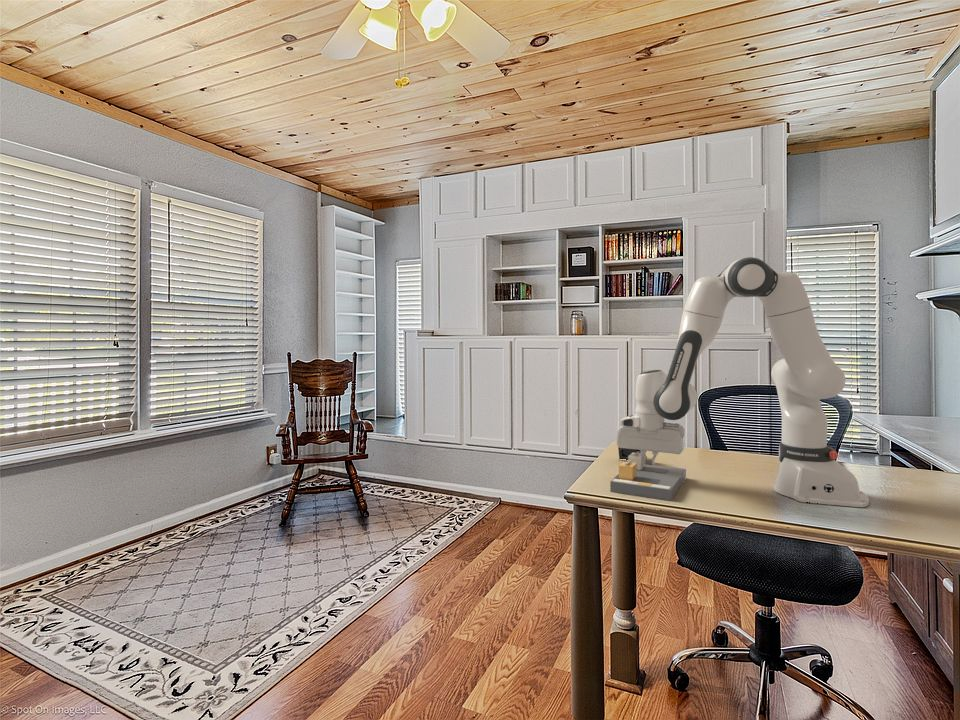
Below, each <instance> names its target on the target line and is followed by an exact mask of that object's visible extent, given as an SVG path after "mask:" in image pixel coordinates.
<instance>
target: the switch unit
mask: <svg viewBox="0 0 960 720" xmlns="http://www.w3.org/2000/svg"><path fill="white" fill-rule="evenodd" d="M685 478H687V469H686V468H681V467H674V466H665V465H657V464H654V465H647V464H645V466H644V467H643V468H642V469H641V470H637V476H636V477H635V478H634V479H633V480H626V479H619V473H618V474H617V475H615V476H614V477H613V479H611V480H610V482H609V483H610V484H609V485H610V488H609V489H610V490H609V491H610V492H611V493H612V492H613V493H618V494H623V495H624V494H625V495H629V496H630V495H631V496H636V497H637V496H638V497H644V498H651V499H658V500H664V501H670V502H671V501H672V500H673V498H674V496H675V495H676V493H678V491H679V489H680V487H682V485H683V483H684V482H685V480H686V479H685ZM683 481H684V482H683ZM681 484H682V485H681Z"/></svg>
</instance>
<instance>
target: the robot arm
mask: <svg viewBox="0 0 960 720" xmlns="http://www.w3.org/2000/svg"><path fill="white" fill-rule="evenodd" d="M750 297H751V298H752V297H757V298H758V299H759V300H760V301H761V303H762V305H763V308H764V312H765V316H766V319H767V324H768V327H769V332H770V334H771V338H772V339H771V340H772V342H773V344H774V346H775V347H777V349H778V350H779V351H780V354H781V355H782V357H783V358H780V359H779V360H777V361H776V362H775V363H774V365H773V366H772V368H771V373H770V374H771V379H772V381H773V383H774V385H775V388H776V393H777V397H778V401H779V407H780V415H781V440H780V442H779V446H778V459H779V469H778V472H777V473H778V474H777V477H776V481H775V484H774V486H773V490H774V491H775V492H776V493H778V494H780V495H783V496H785V497H788V498H792V499H794V500H795V501H797V502H801V503H806V502H808V504H809V502H810V504H817V503H818V505H830V506H843V507H854V508H865V507H868V506H869V504H870V499H869V496H868V495H867V494H866V493H864V492H863V491H861V490H860V486H859V482H858V480H857V478H856V476H855V475H854V474H853V473H852V472H851V471H850V470H848V468H845V466H843V465H842V464H840V463H839V462H838V461H836V460H837V459H838V457H839V453H838V451H836V450H835V449H834V448H833V447H832V446H831V447H830V446H828V445H827V444H828V417H827V415H826V413H825V412H824V410H823V407H822V403H821V400H824V399H825V400H826V399H831V398H834V397H836V396H838V395H839V394H840V393H842V391H843V390H844V387H845V386H846V375H845V373H844V371H843V369H842V368H841V367H839V366H838V365H837V364H836V362H835V361H834V359H833V358H832V357H831V354H830V352H829V351H828V349H827V347H826V346H825V343H824V341H823V340H822V337H821V335H820V333H819V331H818V329H817V328H818V327H817V324H816V322H815V321H816V320H815V316H814V313H813V310H812V307H811V306H812V305H811V302H810V299H809V296H808V294H807V290H806V288H805V287H804V284H803V283H802V281H801V279H800V277H799V275H798V274H796V273H794V272H791V271H779V272H776V271H775V270H774V269H773V268H772V267H770V265H769V264H768V263H766V262H765V261H763V260H762V259H760V258H758V257H753V256H752V257H750V256H748V257H741V258H739V259H736V260H734V261H732V262H731V263H730V264H729V265H728V266H726V268H724V269H723V271H722V272H720V273H719V274H718V275H717V276H712V275H711V276H710V275H707V276H703V277H699V278H698V279H697V280H695V281H694V283H693V285H692V286H691V290H690V291H689V294H688V296H687V299H686V301H685V304H684V308H683V311H682V314H681V320H680V325H679V329H678V330H679V331H678V337H677V342H676V348H675V351H674V355H673V357H672V360H671V364H670V367H669V370H668V373H665V372H664V371H663V370H661V369H653V370H647V371H642V372H641V373H639V374H638V375H637V377H636V382H635V393H634V395H635V396H634V397H635V402H636V405H635V406H636V407H635V409H634V413H635V414H631V415H628V416H625V417H622V418H621V419H620V420H619V425H620V427H619V428H617V429H618V430H617V434H616V446H617V448H618V447H619V448H627V449H636V450H640V453H641V455H642V457H643V459H644V464H647V465H655V459H656V458H657V456H658V455H659V453H662V454H663V453H664V454H665V453H666V454H673V455H681V454H682V453H683V452H684V449H685V448H684V447H685V446H684V445H685V443H684V437H685V428H684V426H683V425H680V423H671V422H666V421H665V420H668V421H677V420H680V419H683V418H684V417H686V415H687V413H688V412H689V411H690V410H692V409H693V408H694V407H695V406H696V404H697V403H698V401H699V400H698V399H699V398H698V397H699V395H698V391H697V389H696V387H694V386H693V385H692V384H690V382H691V379H692V377H693V374H694V370H695V367H696V364H697V361H698V360H699V357H700V356H701V354H702V353H703V351H705V349H706V348H708V346H709V345H710V344H711V343H712V342H713V341H714V340H715V338H716V336H717V334H718V333H719V330H720V327H721V325H722V321H723V318H724V315H725V313H726V312H725V311H726V308H727V306H728V304H729V303H730V301H731V300H732V299H733V298H750ZM647 452H652V453H651V455H653V456H652V457H647V454H646V453H647Z"/></svg>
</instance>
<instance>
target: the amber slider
mask: <svg viewBox="0 0 960 720" xmlns="http://www.w3.org/2000/svg"><path fill="white" fill-rule="evenodd" d="M618 474H619V479H626V480H633V479H634V478H635V477H636V476H637V463H633V462H631V461H622V462H621V463H620V464H619V465H618Z"/></svg>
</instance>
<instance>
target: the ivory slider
mask: <svg viewBox="0 0 960 720" xmlns="http://www.w3.org/2000/svg"><path fill="white" fill-rule="evenodd" d="M628 461H631V462H633V463H637V470H641V469H642V468H643V467H644V466H645V464H644V459H643V457H642V455H641V453H639V452H636V453H631V454H630V455H629V456H628ZM628 461H627V462H628Z"/></svg>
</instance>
